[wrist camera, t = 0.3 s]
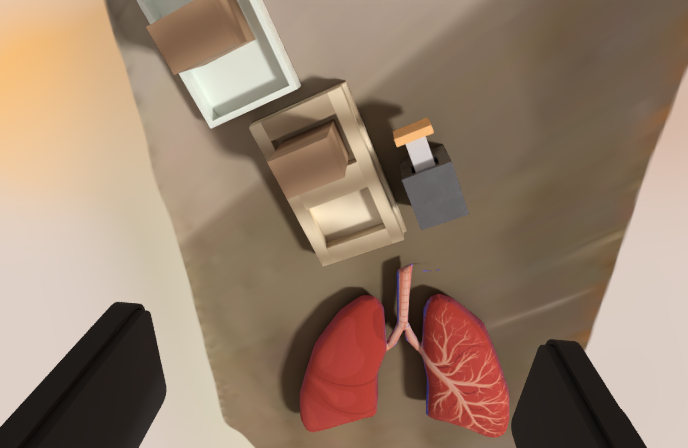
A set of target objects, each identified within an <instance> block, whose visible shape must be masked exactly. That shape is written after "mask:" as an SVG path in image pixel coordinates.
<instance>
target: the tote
mask: <svg viewBox="0 0 688 448" xmlns="http://www.w3.org/2000/svg"><path fill="white" fill-rule="evenodd" d="M136 1H137V2H138V4H139V6H140V8H141V9H142V11H143V13H144V15H145V16H146V18H147V20H148V21H149V23H150V24H152V23H154V22H156V21H157V20H159V19H161V18H163V17H165V16H166V15H168V14H170V13H172V12H174V11H175V10H177V9H179V8H181V7H183V6H184V5H186V4H188V3H190V2H192V1H193V0H136ZM237 1H238V3H239V5H240V8H241V10H242V12H243V14H244V16H245V18H246V20H247V22H248V24H249V26H250V28H251V30H252V32H253V34H254V37H255V39H256V40H254V41H252V42H250V43H248V44H246V45H244V46H242V47H240V48H238V49H236V50H234V51H232V52H230V53H228V54H226V55H224V56H222V57H220V58H218V59H216V60H214V61H212V62H210V63H208V64H206V65H204V66H201V67H197V68H194V69H191V70H188V71H185V72H181V73H179V75H180V77H181V78H182V80H183V82H184V84H185V85H186V87H187V89H188V91H189V92H190V94H191V96H192V97H193V99H194V101H195V103H196V104H197V106H198V108H199V110H200V111H201V113H202V115H203V116H204V118H205V120H206V122H207V123H208V125H209V127H210V129H211V128H213V127H215V126H218V125H220V124H222V123H224V122H226V121H229V120H231V119H233V118H235V117H237V116H240V115H242V114H244V113H246V112H248V111H250V110H253V109H255V108H257V107H259V106H261V105H264V104H266V103H268V102H270V101H272V100H275V99H277V98H279V97H281V96H283V95H285V94H288V93H290V92H292V91H294V90H296V89H298V88H299V87H300V86H301V83H300V81H299V79H298V77H297V75H296V72H295V70H294V68H293V66H292V64H291V62H290V59H289V57H288V55H287V53H286V51H285V48H284V46H283V44H282V42H281V40H280V38H279V35H278V33H277V31H276V29H275V27H274V24H273V22H272V20H271V18H270V16H269V14H268V11H267V9H266V7H265V5H264V3H263V0H237Z"/></svg>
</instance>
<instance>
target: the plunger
mask: <svg viewBox="0 0 688 448" xmlns="http://www.w3.org/2000/svg"><path fill="white" fill-rule="evenodd" d="M432 133H434V132H433V129H432V126H431V123H430V121H429V119H428V117H427V118H425V119H422V120H420V121H417V122H415V123H412V124H410V125H407V126H405V127H402V128H400V129H397V130H395V131H393V135H394V141H395V143H396V146H397V147H399V146H402V145H404V144H406V147H407V150H408V152H409V155H410V158H411V160H412V163H413V166H414V168H415V171H416V172H418V171H421V170H424V169H426V168H429V167H432V166H435V162H434V159H433V156H432V154H431V151H430V148H429V145H428V142H427V139H426V136H427V135H430V134H432Z"/></svg>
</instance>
